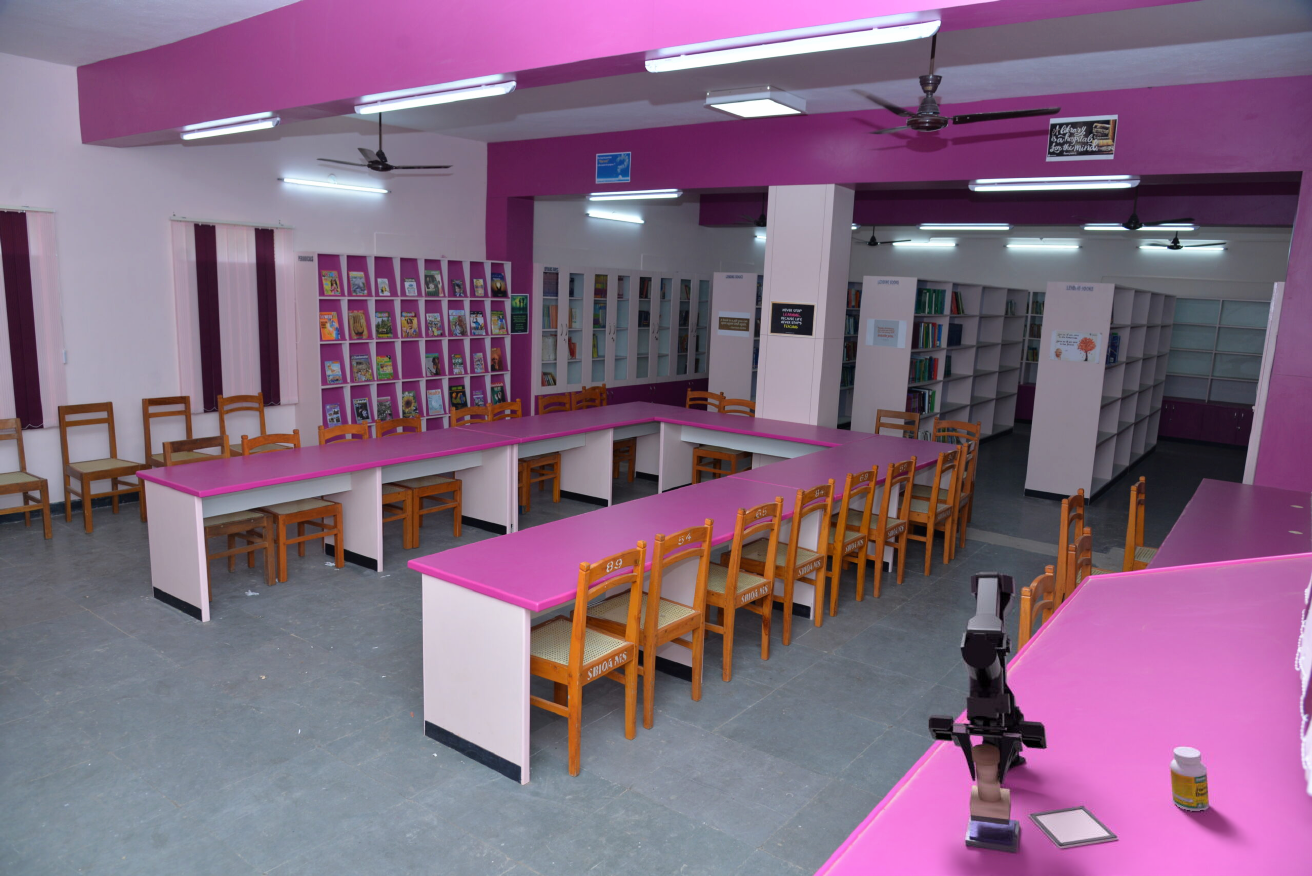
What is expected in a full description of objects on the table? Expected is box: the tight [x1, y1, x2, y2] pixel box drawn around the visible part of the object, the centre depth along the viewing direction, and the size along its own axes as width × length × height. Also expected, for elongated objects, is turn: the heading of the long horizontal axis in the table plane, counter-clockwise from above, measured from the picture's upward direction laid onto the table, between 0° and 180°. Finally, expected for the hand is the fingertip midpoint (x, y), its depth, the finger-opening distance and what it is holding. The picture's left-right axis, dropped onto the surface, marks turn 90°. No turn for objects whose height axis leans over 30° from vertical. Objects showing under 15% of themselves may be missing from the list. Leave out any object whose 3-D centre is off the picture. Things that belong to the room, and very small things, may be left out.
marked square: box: [1028, 805, 1119, 850], centre depth 142 cm, size 10×10×1 cm
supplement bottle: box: [1169, 746, 1210, 812], centre depth 144 cm, size 5×5×10 cm
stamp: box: [969, 743, 1012, 825], centre depth 142 cm, size 6×6×11 cm
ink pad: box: [964, 815, 1021, 854], centre depth 142 cm, size 8×8×1 cm
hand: (987, 781), depth 140 cm, fingers closed on stamp, 4 cm apart
